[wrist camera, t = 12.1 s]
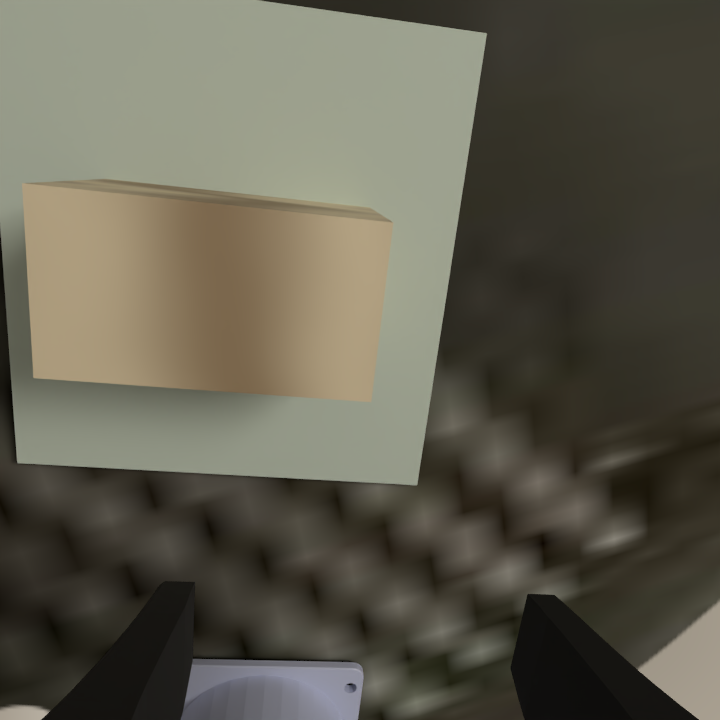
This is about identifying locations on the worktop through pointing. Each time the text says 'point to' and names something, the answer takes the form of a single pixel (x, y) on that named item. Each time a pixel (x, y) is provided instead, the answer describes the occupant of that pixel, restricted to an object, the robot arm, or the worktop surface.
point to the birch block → (204, 289)
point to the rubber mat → (246, 176)
